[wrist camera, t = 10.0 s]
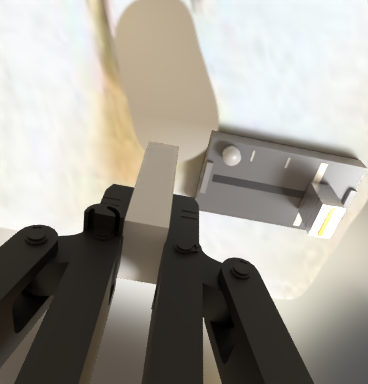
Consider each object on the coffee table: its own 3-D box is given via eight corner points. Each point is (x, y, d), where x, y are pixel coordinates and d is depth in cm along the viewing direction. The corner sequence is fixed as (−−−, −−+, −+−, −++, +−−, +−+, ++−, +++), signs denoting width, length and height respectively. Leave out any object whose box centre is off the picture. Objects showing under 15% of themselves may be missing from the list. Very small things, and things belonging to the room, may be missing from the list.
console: (212, 130, 49) (213, 141, 45) (360, 160, 50) (371, 173, 47) (194, 200, 55) (193, 215, 51) (326, 225, 56) (334, 240, 53)
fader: (310, 181, 49) (323, 205, 44) (330, 185, 49) (345, 209, 44) (297, 209, 52) (308, 235, 47) (316, 213, 52) (329, 239, 47)
